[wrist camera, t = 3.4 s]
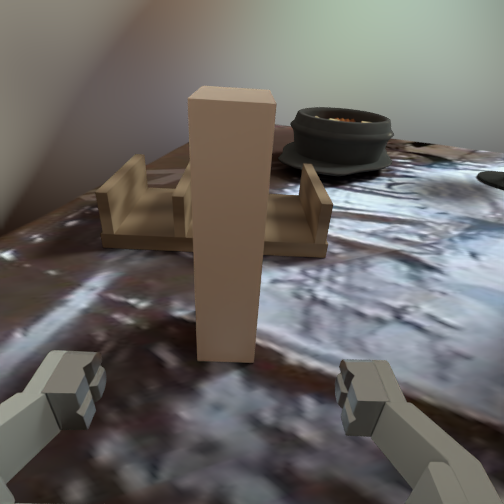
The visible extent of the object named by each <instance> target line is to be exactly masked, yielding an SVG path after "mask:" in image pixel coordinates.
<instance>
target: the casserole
mask: <svg viewBox="0 0 504 504" xmlns="http://www.w3.org/2000/svg"><path fill="white" fill-rule="evenodd" d="M291 127H292V128H293V130H294V142H292V143H289V144H287V145H286V146H285V147H284V148H283V153H282V154H281V155H280V157H279V158H278V159H279V161H281V162H282V163H284V164H286V165H288V166H291V167H293V168H296V169H300V170H302V168H303V163H304V164H312V166H313V168H314V169H315V171H316V173H317V174H324V175H332V176H344V175H349V174H354V173H362V172H367V171H375V170H380V169H384V168H386V167H388V166H390V165H391V164H392V160H391V158H390V157H389V156H388V155H387V151H386V149H385V146H386V144H387V142H388V140H389V139H390V138H392V137H393V136H394V133H393V132H392V130H391V122H390V119H389V118H387V117H384V116H381V115H379V114H375V113H370V112H366V111H360V110H352V109H342V108H325V107H319V108H318V107H316V108H306V109H301V110H299V111H298V113H297V115H296V117H295V119H294V120H293V121H292V122H291Z"/></svg>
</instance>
